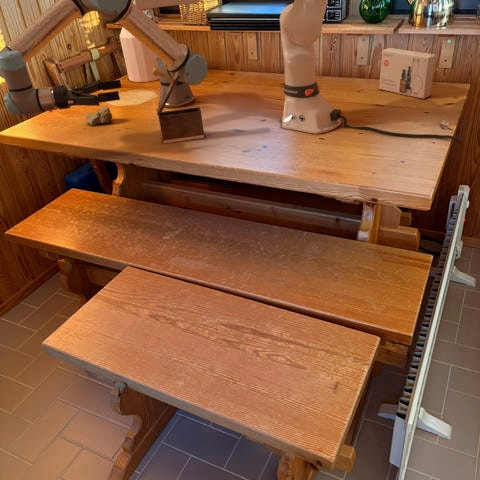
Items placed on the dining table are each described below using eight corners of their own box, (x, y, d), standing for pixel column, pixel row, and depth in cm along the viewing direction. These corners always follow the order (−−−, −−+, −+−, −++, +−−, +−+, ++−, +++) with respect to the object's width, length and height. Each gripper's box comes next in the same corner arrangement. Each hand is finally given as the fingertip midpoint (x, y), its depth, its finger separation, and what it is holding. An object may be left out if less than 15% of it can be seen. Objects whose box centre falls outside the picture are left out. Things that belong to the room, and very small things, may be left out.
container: (160, 81, 233) (149, 21, 217) (121, 82, 238) (108, 23, 222) (174, 69, 249) (165, 13, 233) (138, 70, 254) (126, 15, 238)
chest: (203, 132, 171) (199, 106, 166) (204, 137, 167) (201, 111, 162) (163, 138, 170) (158, 112, 164) (163, 143, 166) (158, 117, 160)
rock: (87, 123, 194) (86, 127, 185) (83, 107, 191) (82, 111, 182) (113, 119, 196) (113, 123, 187) (110, 103, 193) (110, 107, 184)
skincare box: (377, 89, 194) (381, 50, 185) (385, 86, 197) (389, 47, 188) (423, 99, 180) (429, 56, 171) (430, 95, 183) (437, 53, 174)
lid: (179, 72, 158) (157, 59, 155) (180, 76, 154) (157, 63, 151) (159, 111, 164) (137, 100, 161) (159, 116, 160) (137, 104, 157)
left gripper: (64, 98, 166) (123, 89, 168) (53, 122, 145) (120, 112, 147) (58, 76, 162) (118, 68, 163) (45, 98, 141) (115, 88, 143)
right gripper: (196, -33, 142) (202, 16, 150) (130, -26, 140) (139, 23, 148) (198, -32, 137) (204, 19, 145) (129, -24, 135) (139, 27, 143)
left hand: (119, 89), depth 155 cm, fingers open, 13 cm apart
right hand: (171, 21), depth 147 cm, fingers open, 8 cm apart
